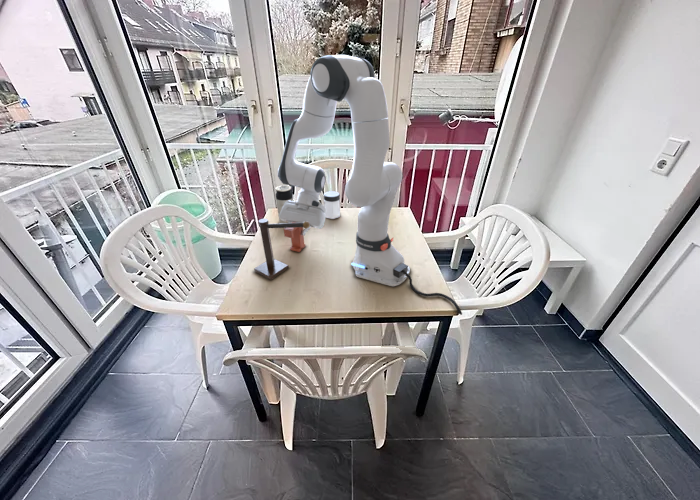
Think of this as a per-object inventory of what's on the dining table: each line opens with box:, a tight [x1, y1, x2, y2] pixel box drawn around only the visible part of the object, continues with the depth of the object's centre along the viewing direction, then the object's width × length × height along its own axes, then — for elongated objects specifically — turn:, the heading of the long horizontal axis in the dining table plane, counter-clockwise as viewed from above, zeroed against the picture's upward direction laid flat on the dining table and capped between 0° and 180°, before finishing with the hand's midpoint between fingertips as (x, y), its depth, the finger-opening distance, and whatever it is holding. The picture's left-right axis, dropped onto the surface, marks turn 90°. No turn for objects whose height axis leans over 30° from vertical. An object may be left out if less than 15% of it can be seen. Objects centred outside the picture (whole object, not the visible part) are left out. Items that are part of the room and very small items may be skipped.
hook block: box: [283, 222, 306, 253], centre depth 118 cm, size 8×4×12 cm, turn 157°
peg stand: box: [253, 218, 311, 281], centre depth 104 cm, size 22×13×21 cm, turn 95°
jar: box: [323, 190, 341, 220], centre depth 147 cm, size 9×8×12 cm
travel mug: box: [274, 184, 294, 223], centre depth 139 cm, size 8×8×18 cm
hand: (296, 233), depth 119 cm, fingers closed on hook block, 4 cm apart
